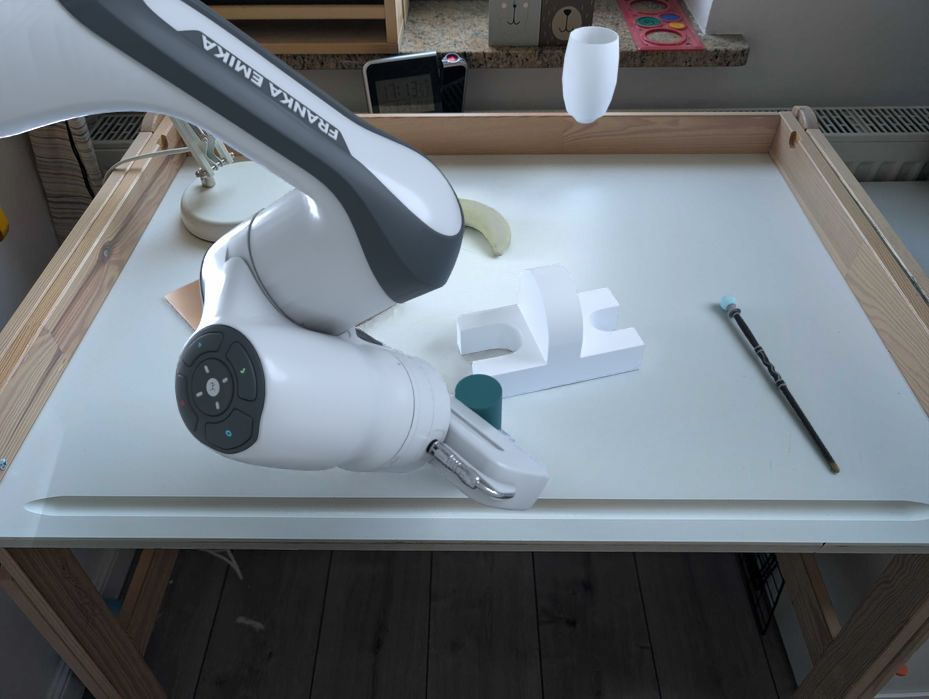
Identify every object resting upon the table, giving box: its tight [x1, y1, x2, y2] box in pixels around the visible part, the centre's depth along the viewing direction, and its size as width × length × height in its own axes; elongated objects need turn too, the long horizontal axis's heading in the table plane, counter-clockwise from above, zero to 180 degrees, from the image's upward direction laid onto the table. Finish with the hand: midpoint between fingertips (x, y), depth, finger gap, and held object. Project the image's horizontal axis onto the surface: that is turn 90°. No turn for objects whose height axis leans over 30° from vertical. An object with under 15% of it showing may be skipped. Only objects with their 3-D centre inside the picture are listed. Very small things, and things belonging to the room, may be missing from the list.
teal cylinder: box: [454, 373, 503, 430], centre depth 64 cm, size 4×4×11 cm
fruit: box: [458, 197, 512, 257], centre depth 95 cm, size 7×15×3 cm, turn 62°
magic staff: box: [719, 294, 840, 474], centre depth 76 cm, size 2×25×2 cm
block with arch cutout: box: [455, 263, 646, 399], centre depth 75 cm, size 18×10×11 cm, turn 105°
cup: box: [561, 25, 620, 124], centre depth 98 cm, size 7×7×21 cm
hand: (483, 425), depth 64 cm, fingers closed on teal cylinder, 4 cm apart
